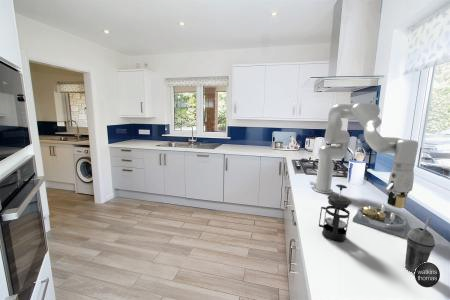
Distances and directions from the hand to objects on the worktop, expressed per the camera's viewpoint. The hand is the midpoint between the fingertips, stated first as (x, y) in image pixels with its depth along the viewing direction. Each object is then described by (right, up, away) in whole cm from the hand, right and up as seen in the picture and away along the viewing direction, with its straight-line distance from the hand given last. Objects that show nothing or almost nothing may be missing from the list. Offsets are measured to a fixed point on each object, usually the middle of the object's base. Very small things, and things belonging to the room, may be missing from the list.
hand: (395, 203), depth 102 cm
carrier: (-2, -11, +7) cm, 13 cm away
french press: (-33, -12, -7) cm, 36 cm away
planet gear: (0, -1, 0) cm, 1 cm away
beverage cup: (-15, -17, -27) cm, 35 cm away
